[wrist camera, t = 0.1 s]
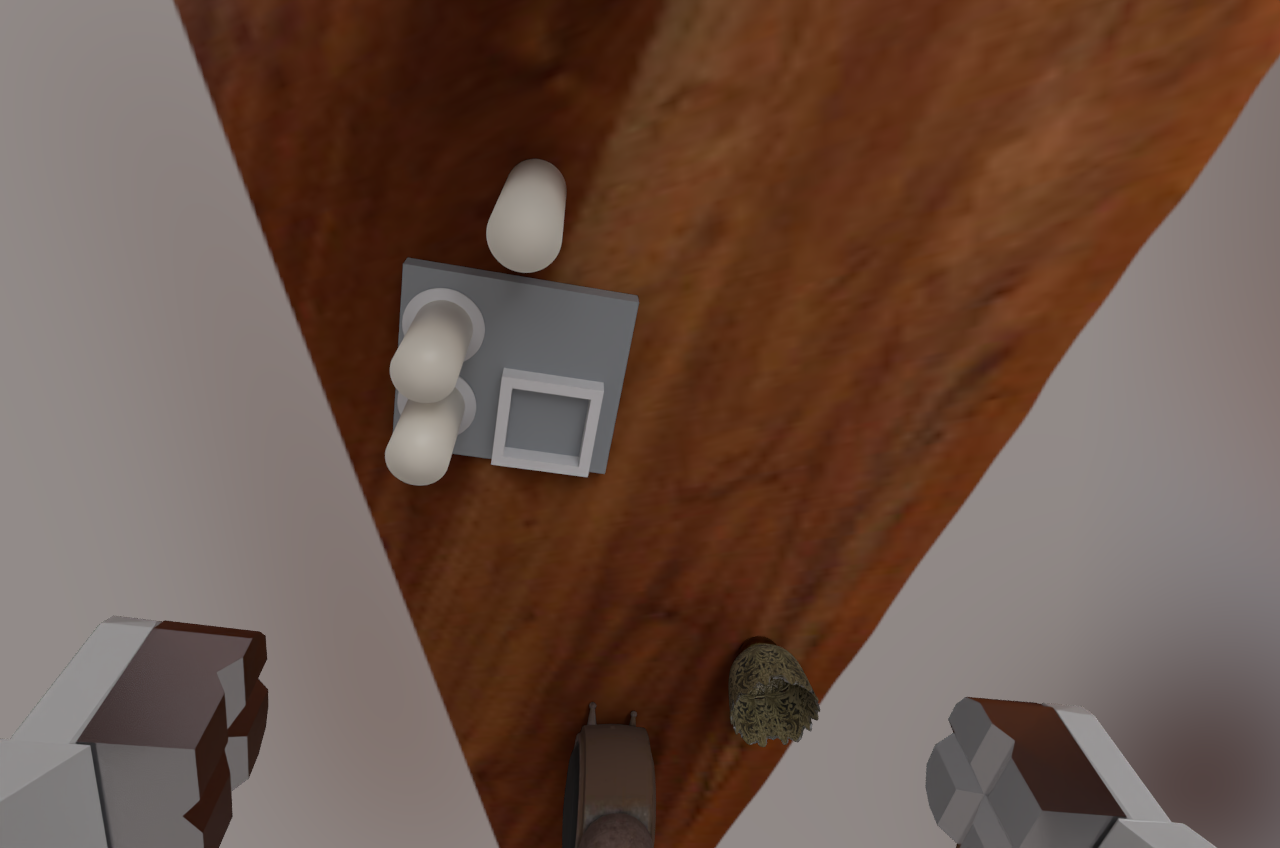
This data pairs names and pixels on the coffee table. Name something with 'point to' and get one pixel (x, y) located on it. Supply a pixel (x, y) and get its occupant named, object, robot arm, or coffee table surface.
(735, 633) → the coffee table surface
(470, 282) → the pin board
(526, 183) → the ivory pin
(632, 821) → the alarm clock
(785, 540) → the coffee table surface
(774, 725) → the cup
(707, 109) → the coffee table surface
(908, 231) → the coffee table surface
